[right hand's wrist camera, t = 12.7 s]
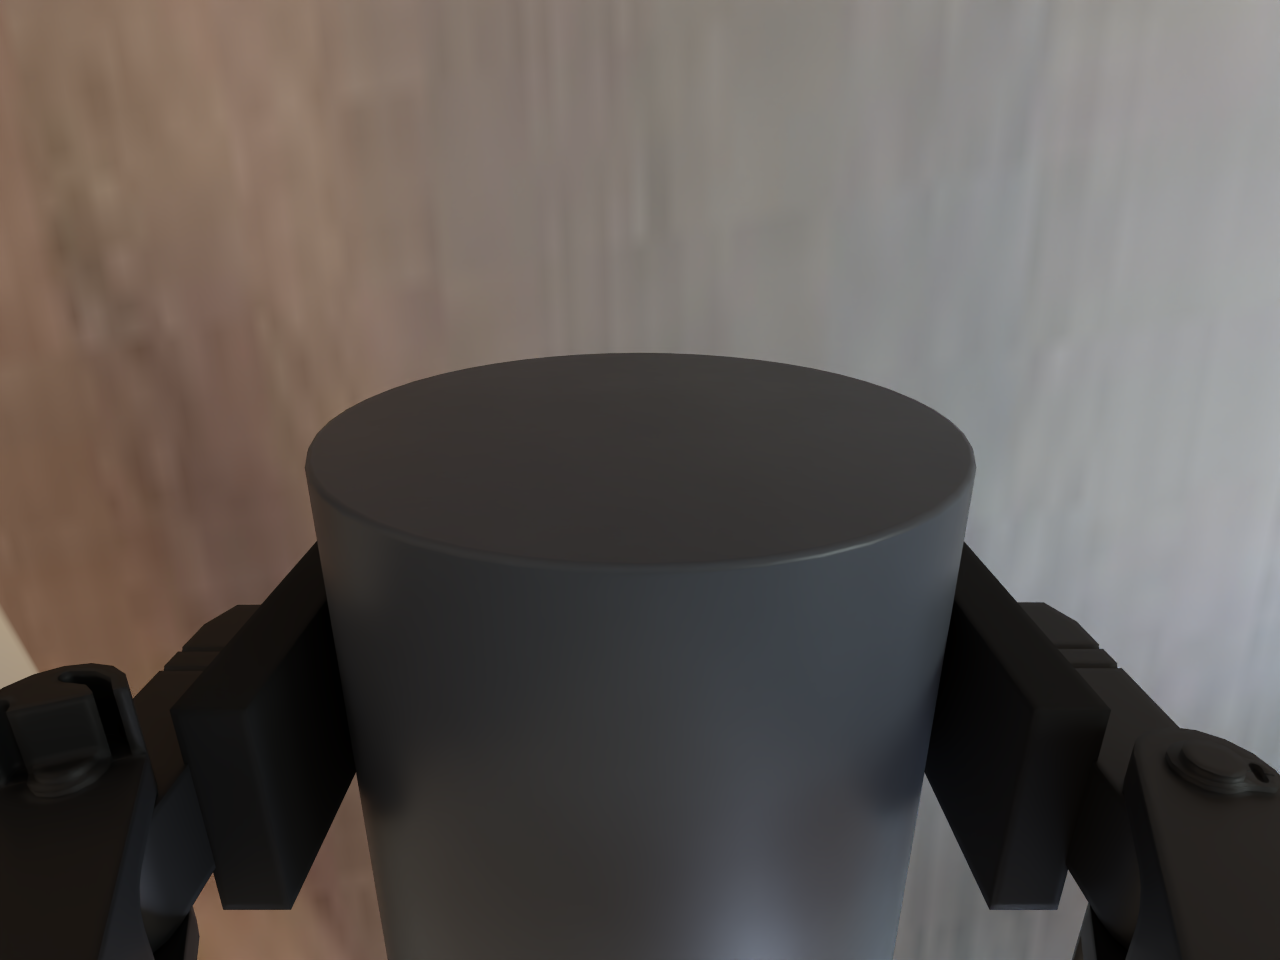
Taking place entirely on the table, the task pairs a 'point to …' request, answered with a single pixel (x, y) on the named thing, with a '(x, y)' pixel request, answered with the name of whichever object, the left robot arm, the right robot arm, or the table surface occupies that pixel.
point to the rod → (640, 652)
